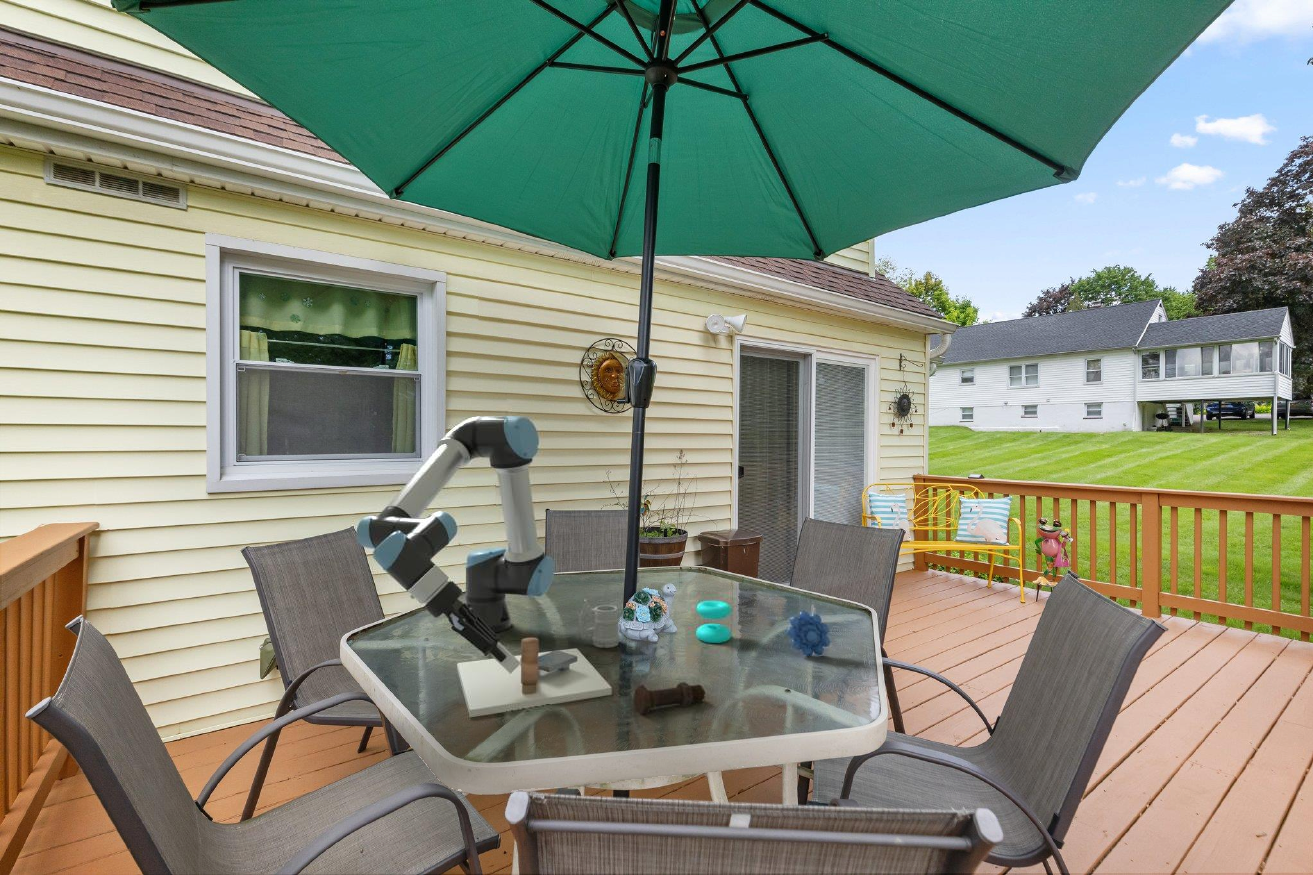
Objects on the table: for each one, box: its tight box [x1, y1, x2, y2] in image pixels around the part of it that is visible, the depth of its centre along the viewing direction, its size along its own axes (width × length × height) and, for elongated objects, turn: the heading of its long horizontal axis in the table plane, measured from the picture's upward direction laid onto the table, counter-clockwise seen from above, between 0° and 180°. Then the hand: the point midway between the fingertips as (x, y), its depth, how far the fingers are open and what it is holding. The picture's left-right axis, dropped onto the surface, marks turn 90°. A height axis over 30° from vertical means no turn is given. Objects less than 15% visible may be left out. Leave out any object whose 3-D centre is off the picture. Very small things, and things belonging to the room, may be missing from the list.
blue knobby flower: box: [786, 610, 831, 657], centre depth 156 cm, size 12×7×12 cm, turn 95°
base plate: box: [456, 647, 613, 718], centre depth 138 cm, size 28×30×2 cm
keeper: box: [538, 649, 577, 672], centre depth 139 cm, size 9×7×5 cm
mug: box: [577, 599, 621, 649], centre depth 166 cm, size 8×12×12 cm, turn 86°
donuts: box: [695, 600, 732, 644], centre depth 171 cm, size 10×10×10 cm
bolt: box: [633, 681, 706, 716], centre depth 126 cm, size 6×5×15 cm
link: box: [520, 637, 539, 693], centre depth 137 cm, size 19×4×10 cm, turn 12°
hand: (515, 667), depth 129 cm, fingers closed
